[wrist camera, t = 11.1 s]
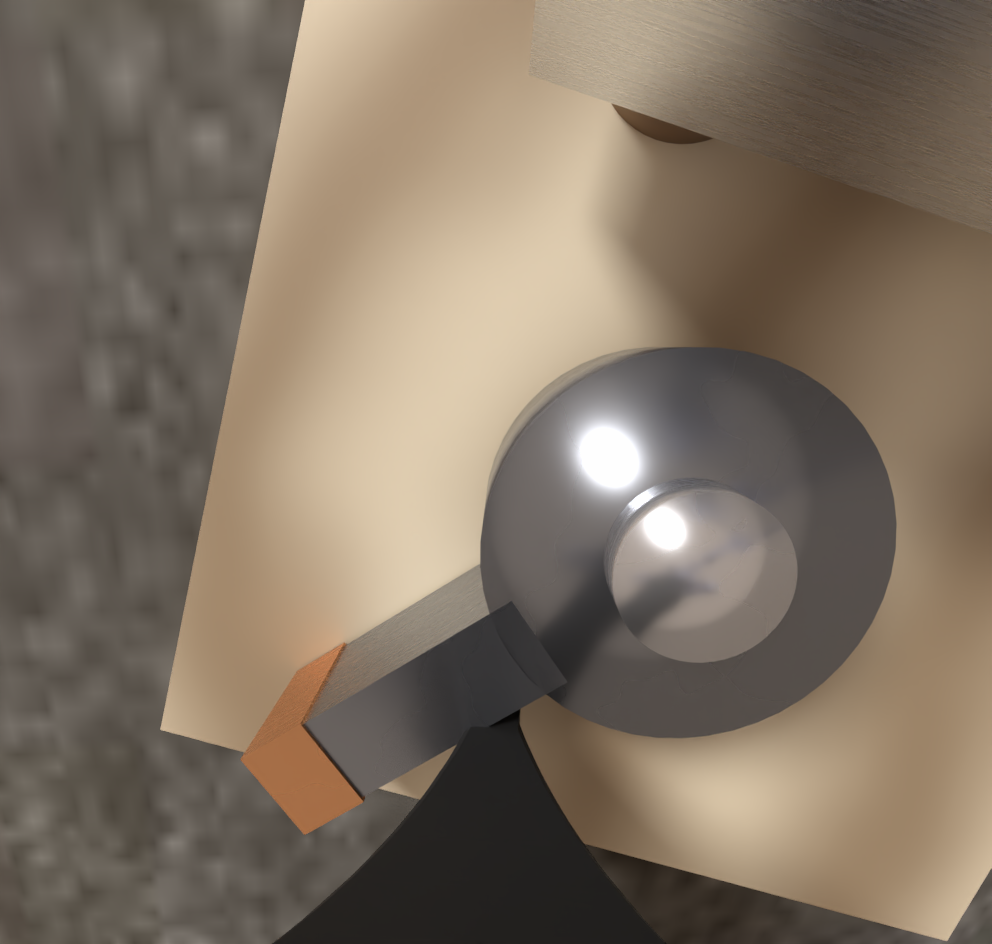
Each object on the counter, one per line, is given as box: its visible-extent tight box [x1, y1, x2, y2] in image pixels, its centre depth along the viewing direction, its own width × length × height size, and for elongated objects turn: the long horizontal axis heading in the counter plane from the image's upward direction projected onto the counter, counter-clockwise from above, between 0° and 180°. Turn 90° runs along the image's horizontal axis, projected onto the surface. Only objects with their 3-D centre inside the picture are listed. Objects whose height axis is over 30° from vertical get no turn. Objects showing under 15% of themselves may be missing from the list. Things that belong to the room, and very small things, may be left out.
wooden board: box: [160, 0, 992, 941], centre depth 10 cm, size 18×20×3 cm
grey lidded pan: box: [240, 347, 897, 835], centre depth 9 cm, size 11×6×3 cm, turn 123°
